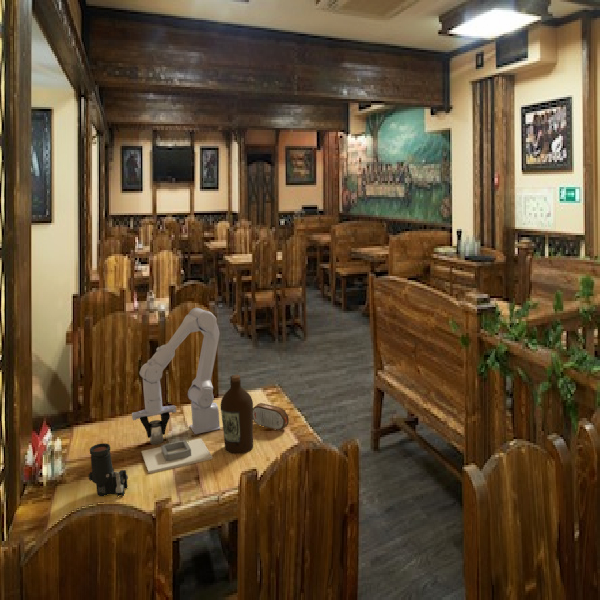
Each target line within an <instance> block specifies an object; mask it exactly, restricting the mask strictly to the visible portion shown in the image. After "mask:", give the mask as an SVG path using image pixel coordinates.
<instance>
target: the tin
mask: <svg viewBox="0 0 600 600" xmlns="http://www.w3.org/2000/svg"><path fill="white" fill-rule="evenodd" d="M289 419H290V418H289V416H288V413H287V412H286V411H285V410H284V409H283V408H282V407H280V406H276V405H271V404H267V403H262V402H260V403H257V404H256V405H255V406H253V423H255V424H256V425H258V426H259V425H261V426H264V427H263V428H265V427H267V428H266V429H269V428H271V429H270V430H273V429H276V430H275V431H277V430H280V431H282V430H284V429H285V428H287V426H288V425H289V424H290V422H289V421H290V420H289ZM261 426H260V427H261Z"/></svg>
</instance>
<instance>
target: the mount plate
mask: <svg viewBox="0 0 600 600" xmlns="http://www.w3.org/2000/svg"><path fill="white" fill-rule="evenodd" d="M187 441H189V443H187ZM141 455H142V456H141V457H142V458H143V461H144V464H145V467H147V468H146V470H148V471H147V473H150V474H153V473H158V472H162V471H166V470H171V469H175V468H179V467H180V468H181V467H184V466H188V465H193V464H196V463H200V462H205V461H209V460H213V455H212V453H211V452H210V450H209V449H208V447H207V446H206V444H205V442H204V441H203V439H202V438H201V437H200V438H195V439H192V440H179V441H173V442H170V443H164V444H162V445H160V446H159V447H154V448H149V449H146V450H141Z"/></svg>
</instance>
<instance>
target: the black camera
mask: <svg viewBox="0 0 600 600" xmlns="http://www.w3.org/2000/svg"><path fill="white" fill-rule="evenodd" d="M89 454H90V463H91V471H90V472H89V474H88V476H87V477H88V480H89V481H92V482H93V483H94V484H95V485H96V495H97V496H99V497H105V496H104V495H107V494H115V495H116V497H117V498H119V497H120V496H119V495H121V498H124V497H125V495H124V494H126V489H125V488H127V487H128V480H129V475H128V474H127V469H121V470H120V471H115V469H114V467H113V462H112V455H111V445H110V444H109V443H105V442H103V443H97V444H95V445H93V446H91V447H90V448H89ZM127 489H128V488H127ZM107 496H108V495H107ZM118 496H119V497H118ZM123 496H124V497H123Z"/></svg>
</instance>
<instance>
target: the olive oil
mask: <svg viewBox="0 0 600 600" xmlns="http://www.w3.org/2000/svg"><path fill="white" fill-rule="evenodd" d="M229 379H230V380H229V382H230V384H229V385H230V387H229V389H227V391H226V392H225V394H224V395H223V396H222V398H221V401H220V413H221V420H222V421H221V422H222V430H223V431H222V432H223V439H224V449H225V451H226V452H227V453H229V454H232V455H233V454H234V455H239V454H240V455H241V454H244V453H245V454H246V453H248V452H251V450H253V448H254V420H253V408H254V401H253V399H252V396H251V394H250V393H249V392H247V391H246V390H245V389H244V388H243V387H242V380H241V375H239V374H233V375H231V376H230V377H229Z"/></svg>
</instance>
